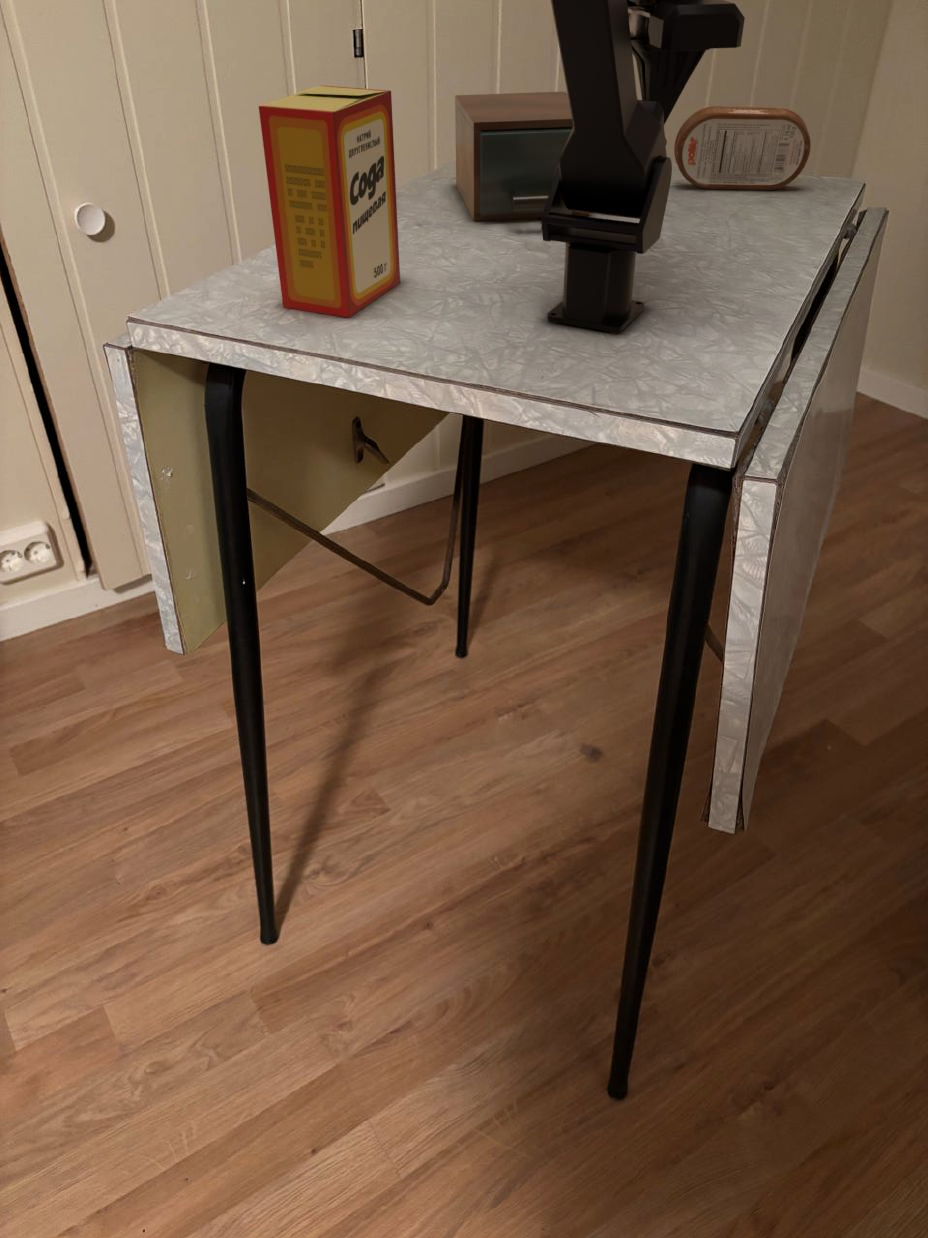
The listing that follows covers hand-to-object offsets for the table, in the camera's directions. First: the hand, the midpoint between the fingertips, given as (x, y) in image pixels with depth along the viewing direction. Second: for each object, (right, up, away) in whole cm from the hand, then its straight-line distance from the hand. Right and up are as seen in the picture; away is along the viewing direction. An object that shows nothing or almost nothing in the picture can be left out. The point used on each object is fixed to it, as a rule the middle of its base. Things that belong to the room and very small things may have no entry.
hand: (653, 131), depth 84 cm
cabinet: (-10, +6, +27) cm, 29 cm away
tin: (+15, +8, +30) cm, 35 cm away
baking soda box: (-27, -13, +3) cm, 30 cm away
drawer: (-9, +4, +23) cm, 26 cm away
